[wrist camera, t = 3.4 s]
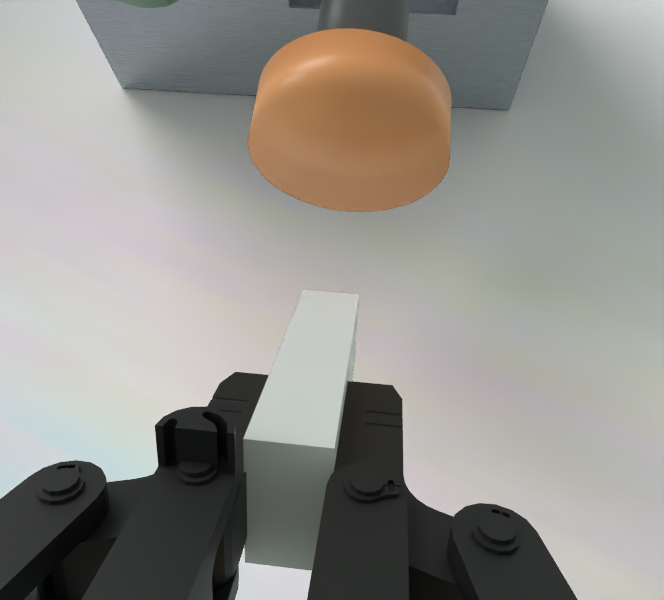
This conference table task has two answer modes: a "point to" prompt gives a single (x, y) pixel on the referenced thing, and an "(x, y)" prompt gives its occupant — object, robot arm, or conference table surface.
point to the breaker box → (299, 20)
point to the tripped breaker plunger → (353, 112)
